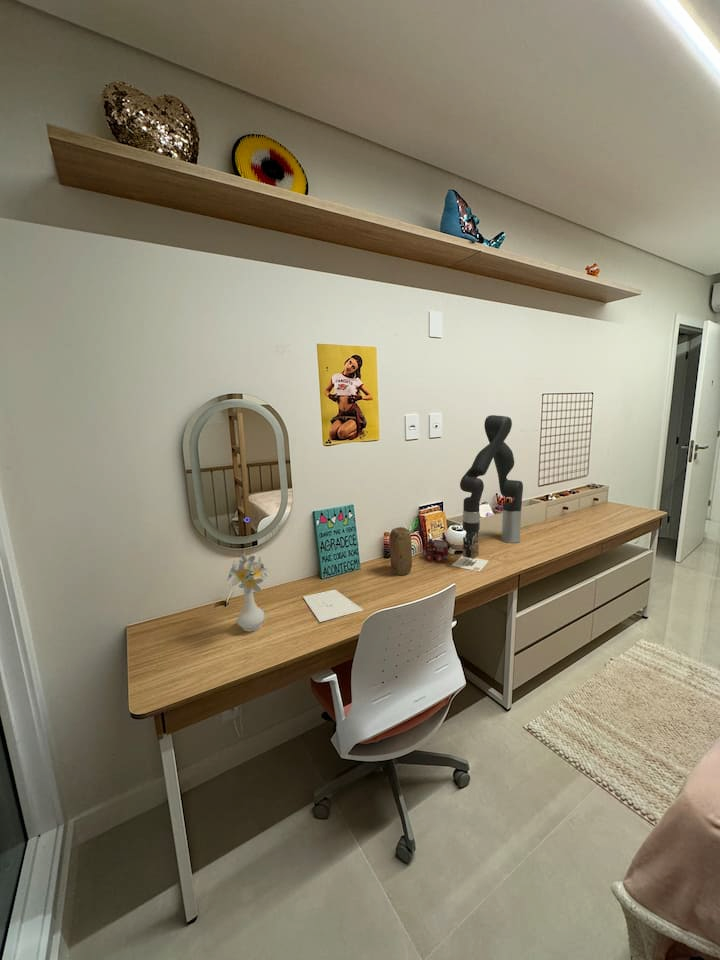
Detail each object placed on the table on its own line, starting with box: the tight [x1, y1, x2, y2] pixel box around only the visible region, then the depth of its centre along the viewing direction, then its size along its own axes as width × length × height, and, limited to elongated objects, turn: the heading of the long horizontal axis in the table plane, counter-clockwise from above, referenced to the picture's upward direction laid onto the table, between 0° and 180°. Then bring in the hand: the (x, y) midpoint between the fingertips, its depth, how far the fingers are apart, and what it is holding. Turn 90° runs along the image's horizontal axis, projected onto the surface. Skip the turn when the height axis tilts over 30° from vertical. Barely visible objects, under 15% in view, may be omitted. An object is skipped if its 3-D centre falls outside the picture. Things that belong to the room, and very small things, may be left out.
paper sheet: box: [302, 589, 364, 623], centre depth 145 cm, size 24×29×1 cm
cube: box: [462, 543, 479, 559], centre depth 173 cm, size 6×6×6 cm
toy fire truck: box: [422, 538, 449, 564], centre depth 180 cm, size 7×12×10 cm, turn 62°
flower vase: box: [226, 553, 269, 633], centre depth 127 cm, size 13×18×25 cm
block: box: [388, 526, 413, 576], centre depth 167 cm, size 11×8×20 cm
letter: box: [451, 554, 489, 573], centre depth 174 cm, size 14×13×1 cm
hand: (470, 554), depth 173 cm, fingers closed on cube, 5 cm apart
